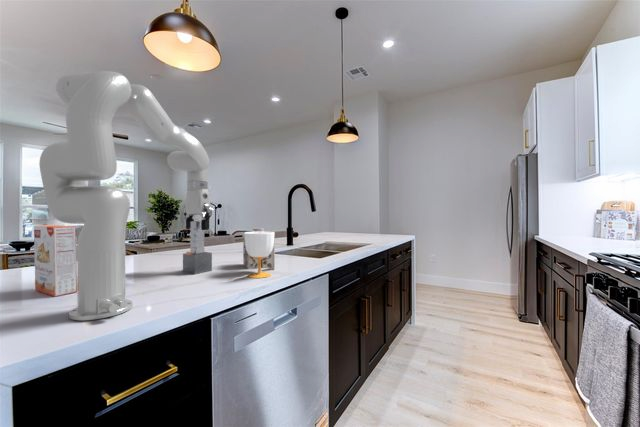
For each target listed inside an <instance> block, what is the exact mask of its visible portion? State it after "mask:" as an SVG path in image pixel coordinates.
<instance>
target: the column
mask: <svg viewBox="0 0 640 427" xmlns="http://www.w3.org/2000/svg"><path fill="white" fill-rule="evenodd" d="M189 231H190V234H189V237H190V240H189V244H190V247H189V250H190V252H192V254H193V255H198V254H204V252H205V230H201V220H198V221H197V220H196V221H195V220H194V221H191V228H190V229H189Z"/></svg>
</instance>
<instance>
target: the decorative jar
mask: <svg viewBox="0 0 640 427" xmlns="http://www.w3.org/2000/svg"><path fill="white" fill-rule="evenodd" d="M257 231H265V229H264V227H253V230H252V232H257ZM275 242H276V241H275V239H274V245H273V249H272V252H271V253H270V255H269V256H267V257H265V258H263V259H262V260H261V272H263V271H274V270H275V264H276V263H275V262H276V258H275V257H276V254H275V252H276V251H275V247H276V246H275V244H276V243H275ZM242 244H243V251H242V252H243V253H242V256H243V260H242V261H243V265H244V266H245V267H246V268H247V269H248V270H252V269H253V270H254V269H258V260H257V259H255V258H253V257H251V256H250V255H249V254H248V252H247V251H246V247H245V240H244V239H243V243H242ZM263 268H265V269H263Z"/></svg>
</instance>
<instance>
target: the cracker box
mask: <svg viewBox="0 0 640 427" xmlns="http://www.w3.org/2000/svg"><path fill="white" fill-rule="evenodd" d="M33 236H34V238H33V239H34V287H35V291H37V292H40V293H43V294H45V295H48V296H51V297H54V298H55V297H61V296H65V295H69V294H74V293H77V242H78V240H77V226H76V225H63V224H62V225H60V224H40V225H33Z"/></svg>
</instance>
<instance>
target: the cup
mask: <svg viewBox="0 0 640 427" xmlns="http://www.w3.org/2000/svg"><path fill="white" fill-rule="evenodd" d="M275 234H276V233H275V231H267V230H266V231H265V230H264V231H257V232H253V231H246V232H244V235H243V241H244V240H245V247H246V251H247V252H248V254H249V255H250V256H251V257H253V258H255V259H257V260H258V268H257V272H252V273H249V274H248V275H247V277H248V278H251V279H263V278H264V279H266V278H269V277H271V276H272V274H271V273H270V272H266V271H265V272H263V271H261V270H262V268H261V260H262V259H263V258H265V257H267V256H269V255H270V253H271V252H272V249H273V245H274V243H275V242H274V240H275Z"/></svg>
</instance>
